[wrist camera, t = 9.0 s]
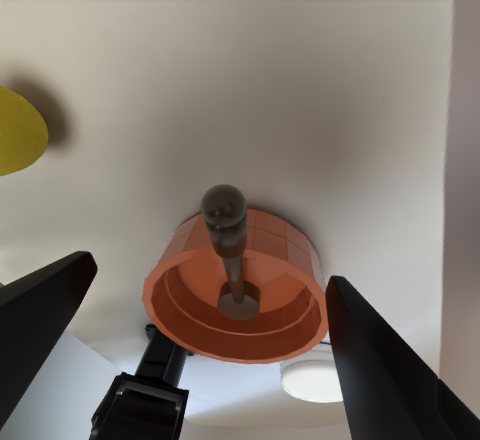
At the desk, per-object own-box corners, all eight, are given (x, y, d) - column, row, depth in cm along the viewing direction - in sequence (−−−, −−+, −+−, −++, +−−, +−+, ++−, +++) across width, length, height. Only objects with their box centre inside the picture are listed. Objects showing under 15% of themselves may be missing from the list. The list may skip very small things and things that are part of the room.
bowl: (303, 320, 28) (310, 373, 23) (179, 305, 29) (160, 353, 24) (336, 210, 19) (358, 259, 14) (155, 197, 20) (119, 237, 15)
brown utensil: (258, 308, 26) (253, 412, 18) (220, 303, 26) (199, 403, 18) (276, 135, 16) (283, 202, 8) (213, 132, 16) (157, 193, 8)
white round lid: (266, 349, 32) (266, 377, 29) (335, 334, 28) (342, 364, 26) (299, 380, 36) (301, 407, 33) (363, 370, 32) (372, 400, 30)
